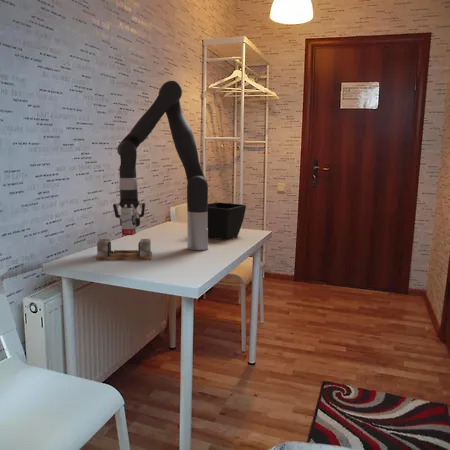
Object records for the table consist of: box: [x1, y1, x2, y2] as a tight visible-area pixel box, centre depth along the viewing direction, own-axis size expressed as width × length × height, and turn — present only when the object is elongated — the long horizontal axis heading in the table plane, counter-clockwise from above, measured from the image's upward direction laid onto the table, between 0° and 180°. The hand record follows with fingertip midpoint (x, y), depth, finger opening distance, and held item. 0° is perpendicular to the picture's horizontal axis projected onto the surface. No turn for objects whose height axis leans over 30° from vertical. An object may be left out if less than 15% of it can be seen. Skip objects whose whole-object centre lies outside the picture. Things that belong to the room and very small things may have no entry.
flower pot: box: [208, 201, 247, 241], centre depth 232 cm, size 19×19×17 cm
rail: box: [95, 238, 153, 262], centre depth 185 cm, size 22×10×7 cm, turn 96°
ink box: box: [120, 206, 140, 236], centre depth 194 cm, size 9×5×12 cm, turn 169°
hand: (130, 226), depth 194 cm, fingers closed on ink box, 5 cm apart
